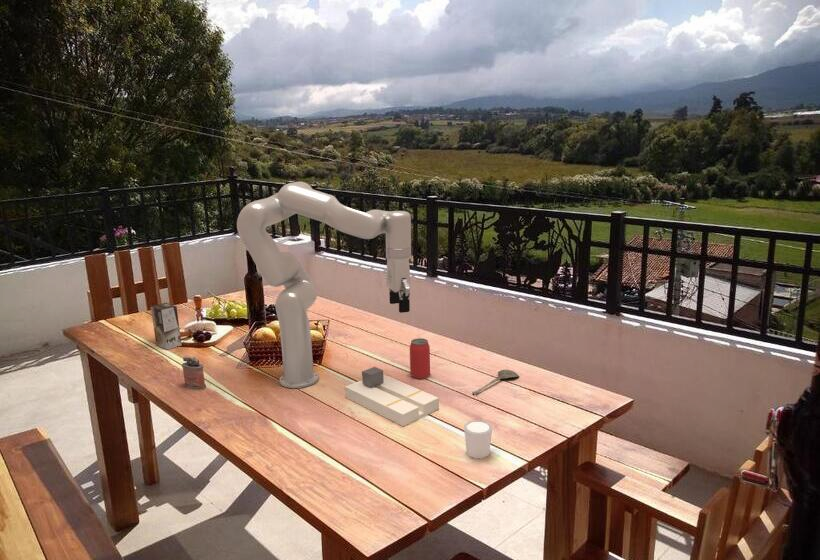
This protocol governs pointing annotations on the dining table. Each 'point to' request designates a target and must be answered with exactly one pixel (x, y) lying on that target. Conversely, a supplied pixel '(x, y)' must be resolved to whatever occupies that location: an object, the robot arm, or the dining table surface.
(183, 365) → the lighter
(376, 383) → the fader knob
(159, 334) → the coffee box
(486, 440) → the white cup
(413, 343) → the beer can
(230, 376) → the dining table surface
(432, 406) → the slider console
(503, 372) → the soupspoon
